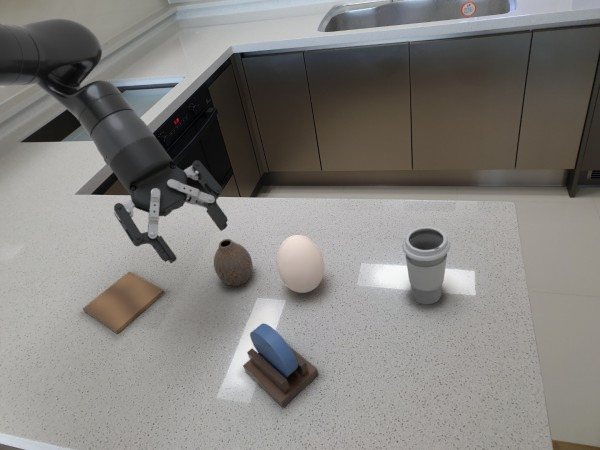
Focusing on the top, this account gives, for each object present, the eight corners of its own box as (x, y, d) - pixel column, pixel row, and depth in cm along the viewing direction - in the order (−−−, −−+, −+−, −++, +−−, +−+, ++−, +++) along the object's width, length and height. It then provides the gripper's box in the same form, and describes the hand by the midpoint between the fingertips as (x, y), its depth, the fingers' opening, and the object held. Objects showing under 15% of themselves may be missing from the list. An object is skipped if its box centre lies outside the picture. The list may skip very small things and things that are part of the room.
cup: (419, 316, 72) (418, 260, 65) (396, 289, 77) (393, 235, 70) (457, 298, 74) (460, 241, 66) (432, 273, 79) (433, 218, 71)
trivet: (117, 334, 80) (115, 331, 80) (84, 311, 87) (82, 308, 86) (164, 292, 87) (163, 289, 86) (130, 274, 93) (129, 271, 92)
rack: (283, 408, 64) (277, 392, 61) (245, 371, 70) (238, 355, 67) (318, 374, 67) (314, 358, 65) (279, 342, 73) (274, 326, 71)
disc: (292, 387, 64) (280, 353, 60) (257, 356, 70) (244, 322, 65) (302, 378, 65) (292, 343, 60) (267, 348, 71) (255, 313, 66)
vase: (214, 289, 85) (199, 254, 80) (229, 263, 90) (216, 229, 85) (247, 293, 83) (234, 258, 77) (261, 267, 88) (250, 231, 82)
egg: (337, 283, 81) (328, 234, 74) (305, 311, 77) (292, 262, 70) (306, 265, 86) (295, 217, 79) (274, 290, 82) (260, 242, 75)
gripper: (83, 163, 58) (158, 267, 58) (178, 117, 65) (246, 209, 64) (87, 185, 65) (154, 278, 64) (172, 141, 71) (234, 225, 71)
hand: (200, 244), depth 64 cm, fingers open, 8 cm apart
